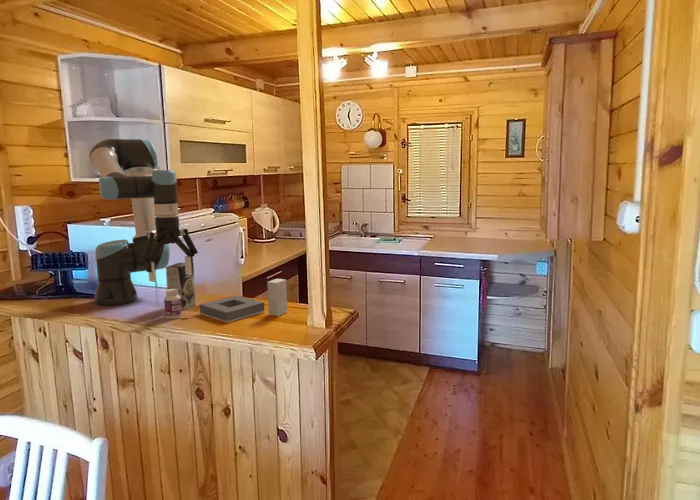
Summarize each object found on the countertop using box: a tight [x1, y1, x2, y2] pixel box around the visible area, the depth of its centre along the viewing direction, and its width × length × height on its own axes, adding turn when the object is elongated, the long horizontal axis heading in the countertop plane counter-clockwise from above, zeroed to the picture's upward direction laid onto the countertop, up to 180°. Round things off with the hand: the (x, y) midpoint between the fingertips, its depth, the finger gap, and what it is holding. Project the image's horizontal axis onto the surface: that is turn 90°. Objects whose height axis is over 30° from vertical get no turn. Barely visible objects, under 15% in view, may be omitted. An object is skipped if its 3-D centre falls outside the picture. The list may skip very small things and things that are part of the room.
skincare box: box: [267, 278, 288, 317], centre depth 174 cm, size 6×4×12 cm
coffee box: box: [165, 262, 197, 311], centre depth 183 cm, size 9×6×16 cm
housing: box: [199, 294, 265, 323], centre depth 176 cm, size 16×16×4 cm
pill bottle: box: [163, 289, 182, 320], centre depth 171 cm, size 5×5×10 cm
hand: (171, 278), depth 169 cm, fingers open, 13 cm apart
